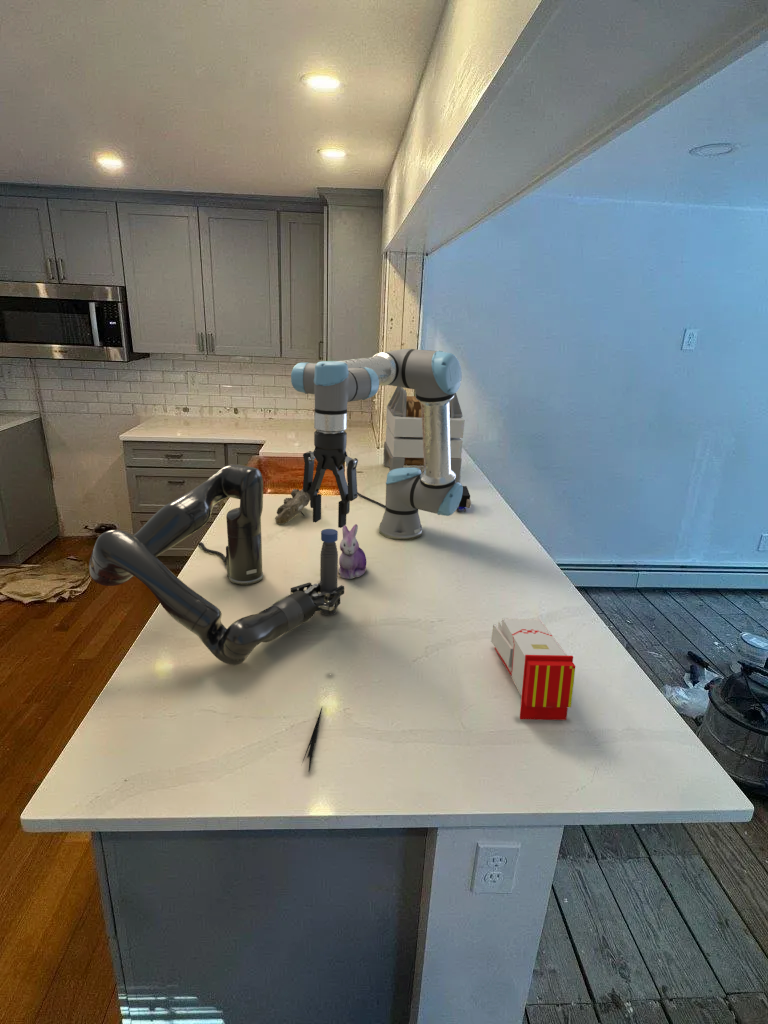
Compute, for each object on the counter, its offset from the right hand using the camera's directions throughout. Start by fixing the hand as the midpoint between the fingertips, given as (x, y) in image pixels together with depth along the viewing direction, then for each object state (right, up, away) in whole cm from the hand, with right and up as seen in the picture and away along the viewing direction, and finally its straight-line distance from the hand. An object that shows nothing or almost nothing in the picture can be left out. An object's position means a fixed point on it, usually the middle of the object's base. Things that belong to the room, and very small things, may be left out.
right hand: (329, 523), depth 139 cm
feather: (+1, -37, -31) cm, 48 cm away
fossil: (-20, +1, +73) cm, 76 cm away
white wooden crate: (+31, +22, +136) cm, 141 cm away
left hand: (+1, -17, +8) cm, 19 cm away
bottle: (-1, -23, +8) cm, 25 cm away
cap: (0, -2, +1) cm, 3 cm away
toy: (+44, -34, -15) cm, 58 cm away
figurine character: (+44, +4, +90) cm, 100 cm away
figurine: (+4, -16, +30) cm, 34 cm away
